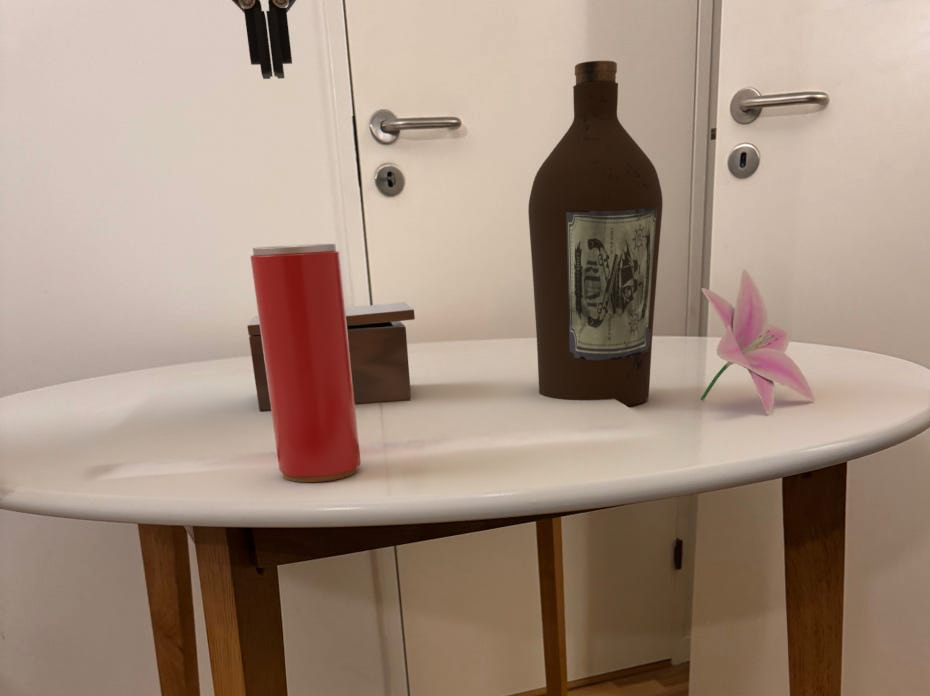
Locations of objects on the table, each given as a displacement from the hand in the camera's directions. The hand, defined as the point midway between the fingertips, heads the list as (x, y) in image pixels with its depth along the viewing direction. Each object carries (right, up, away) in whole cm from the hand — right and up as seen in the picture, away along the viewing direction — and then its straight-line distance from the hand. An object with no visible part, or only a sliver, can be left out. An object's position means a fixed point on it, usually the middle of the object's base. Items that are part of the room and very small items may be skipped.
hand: (273, 75), depth 69 cm
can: (+5, -30, -8) cm, 32 cm away
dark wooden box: (+2, -21, +14) cm, 25 cm away
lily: (+37, -23, +7) cm, 44 cm away
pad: (+5, -31, -8) cm, 32 cm away
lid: (+3, -15, +11) cm, 18 cm away
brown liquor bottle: (+25, -21, +12) cm, 35 cm away
